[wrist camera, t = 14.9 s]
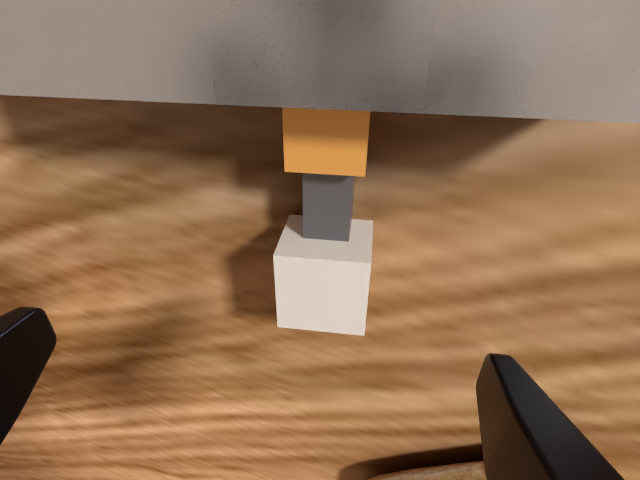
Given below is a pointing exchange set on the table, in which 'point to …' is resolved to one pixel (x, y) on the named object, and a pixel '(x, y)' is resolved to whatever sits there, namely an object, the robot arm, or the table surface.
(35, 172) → the table surface
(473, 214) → the table surface
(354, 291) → the plug
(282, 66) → the housing
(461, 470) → the brown hat
